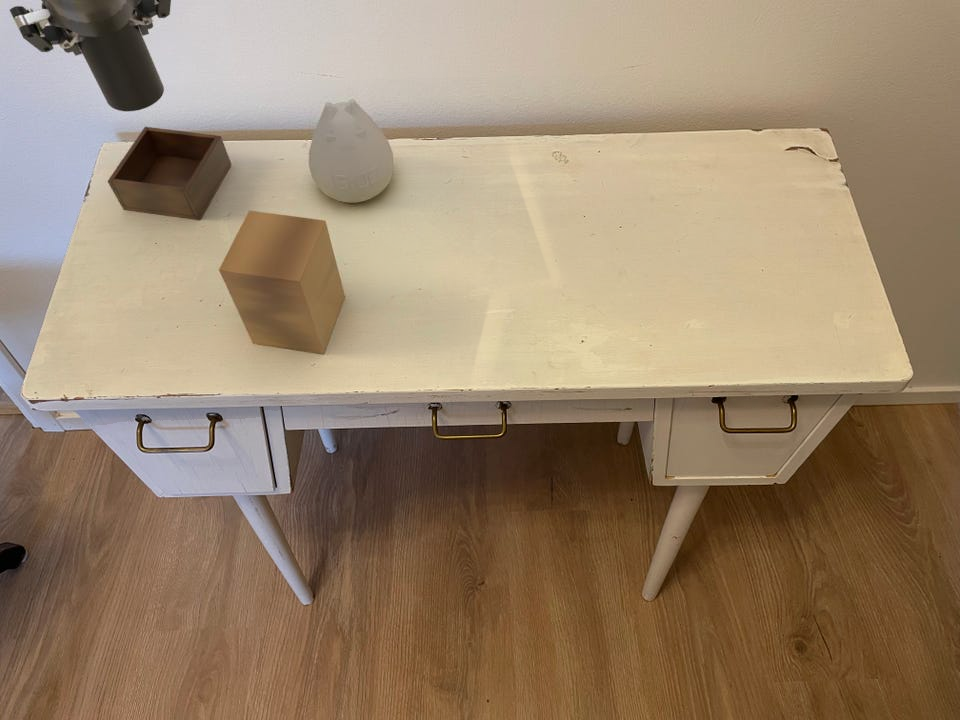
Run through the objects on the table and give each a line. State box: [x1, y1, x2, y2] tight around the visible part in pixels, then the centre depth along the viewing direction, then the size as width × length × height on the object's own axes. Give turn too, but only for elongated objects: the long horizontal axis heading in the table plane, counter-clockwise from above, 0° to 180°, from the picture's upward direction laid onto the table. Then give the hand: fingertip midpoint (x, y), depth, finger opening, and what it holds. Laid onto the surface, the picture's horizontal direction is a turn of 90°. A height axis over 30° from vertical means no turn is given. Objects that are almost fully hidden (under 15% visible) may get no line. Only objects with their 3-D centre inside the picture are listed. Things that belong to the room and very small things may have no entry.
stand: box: [218, 210, 346, 355], centre depth 75 cm, size 8×8×12 cm
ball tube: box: [77, 25, 165, 112], centre depth 77 cm, size 6×6×10 cm
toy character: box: [308, 98, 395, 204], centre depth 87 cm, size 10×10×12 cm
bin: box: [107, 126, 232, 221], centre depth 90 cm, size 10×10×5 cm
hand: (108, 35), depth 76 cm, fingers closed on ball tube, 6 cm apart
